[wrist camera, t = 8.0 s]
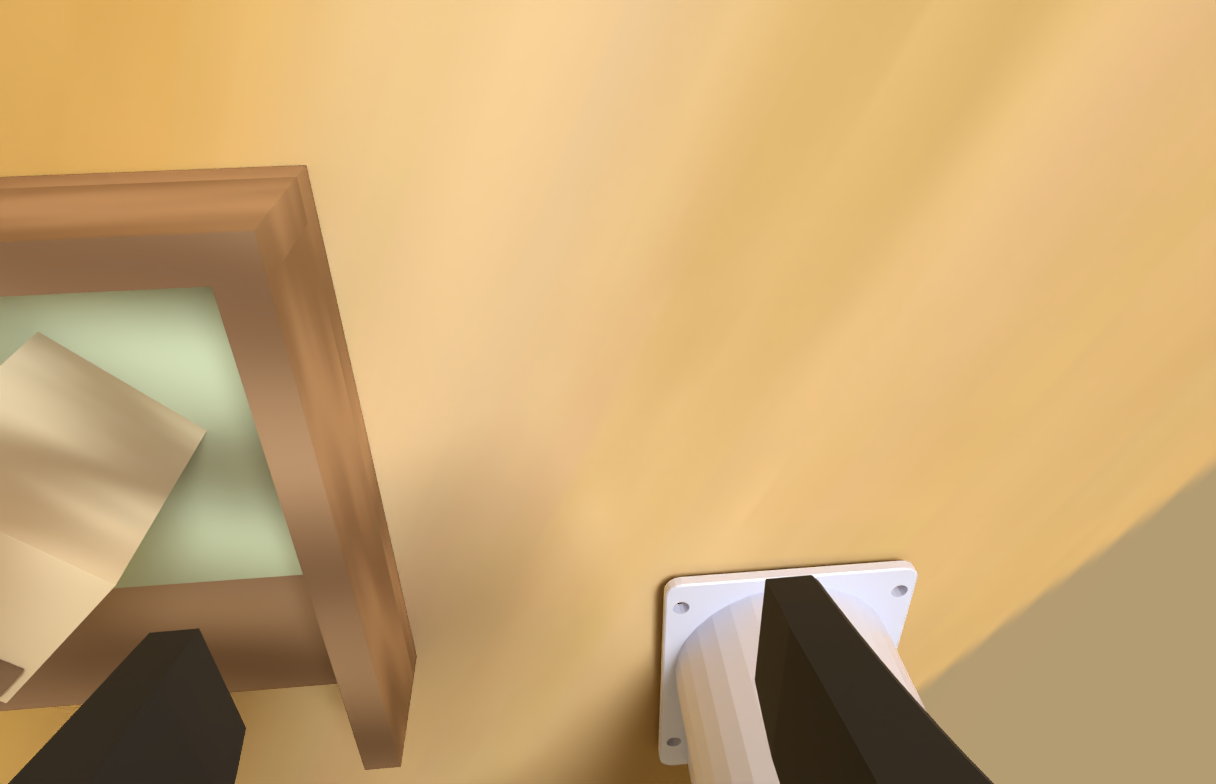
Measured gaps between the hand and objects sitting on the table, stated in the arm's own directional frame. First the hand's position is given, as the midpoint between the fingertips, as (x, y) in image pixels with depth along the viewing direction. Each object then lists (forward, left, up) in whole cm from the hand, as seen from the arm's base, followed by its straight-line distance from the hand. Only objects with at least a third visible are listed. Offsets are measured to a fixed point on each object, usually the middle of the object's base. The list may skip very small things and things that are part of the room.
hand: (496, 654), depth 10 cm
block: (-3, +11, -9) cm, 14 cm away
